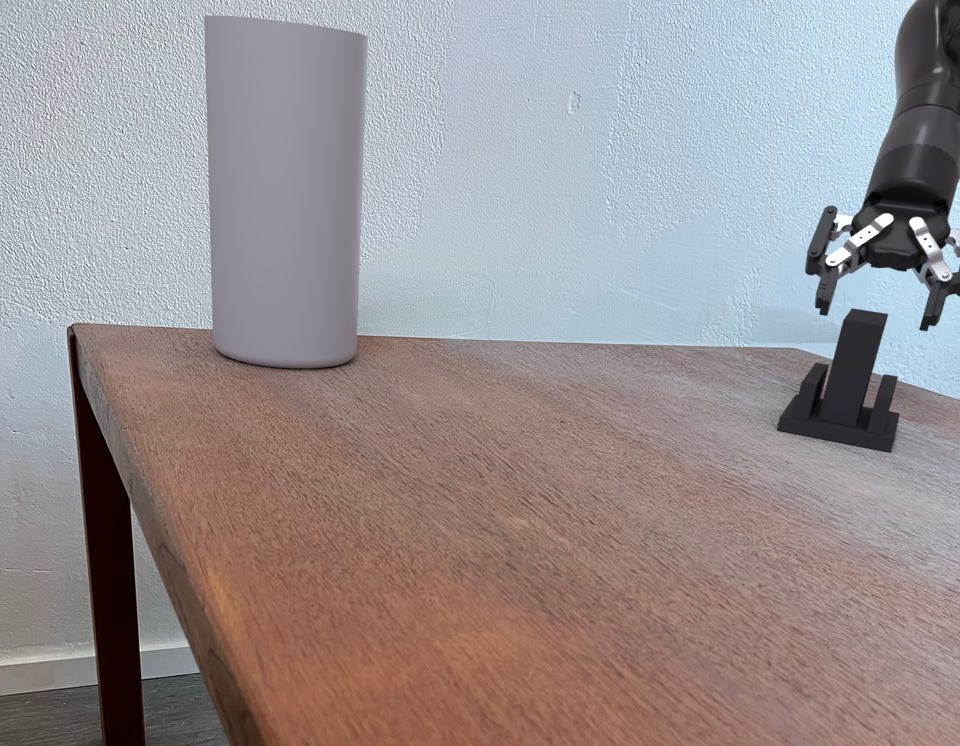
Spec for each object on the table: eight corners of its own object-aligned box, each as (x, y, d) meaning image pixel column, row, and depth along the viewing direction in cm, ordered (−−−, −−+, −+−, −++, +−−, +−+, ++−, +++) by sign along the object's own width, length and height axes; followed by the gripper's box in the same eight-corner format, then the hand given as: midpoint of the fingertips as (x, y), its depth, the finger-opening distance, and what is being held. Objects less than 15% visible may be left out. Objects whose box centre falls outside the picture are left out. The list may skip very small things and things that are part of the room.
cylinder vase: (325, 378, 82) (334, 25, 70) (187, 356, 84) (173, 10, 72) (374, 352, 93) (389, 43, 81) (250, 333, 95) (247, 29, 83)
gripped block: (827, 401, 87) (851, 308, 83) (862, 408, 86) (888, 313, 83) (817, 420, 80) (843, 319, 77) (855, 427, 80) (883, 325, 76)
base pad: (792, 406, 89) (804, 360, 87) (896, 426, 87) (910, 378, 85) (776, 430, 81) (789, 379, 79) (890, 452, 78) (906, 400, 76)
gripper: (841, 133, 89) (795, 276, 85) (1010, 149, 85) (971, 301, 81) (831, 196, 96) (788, 331, 92) (988, 213, 92) (950, 357, 88)
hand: (874, 317), depth 86 cm, fingers open, 8 cm apart
